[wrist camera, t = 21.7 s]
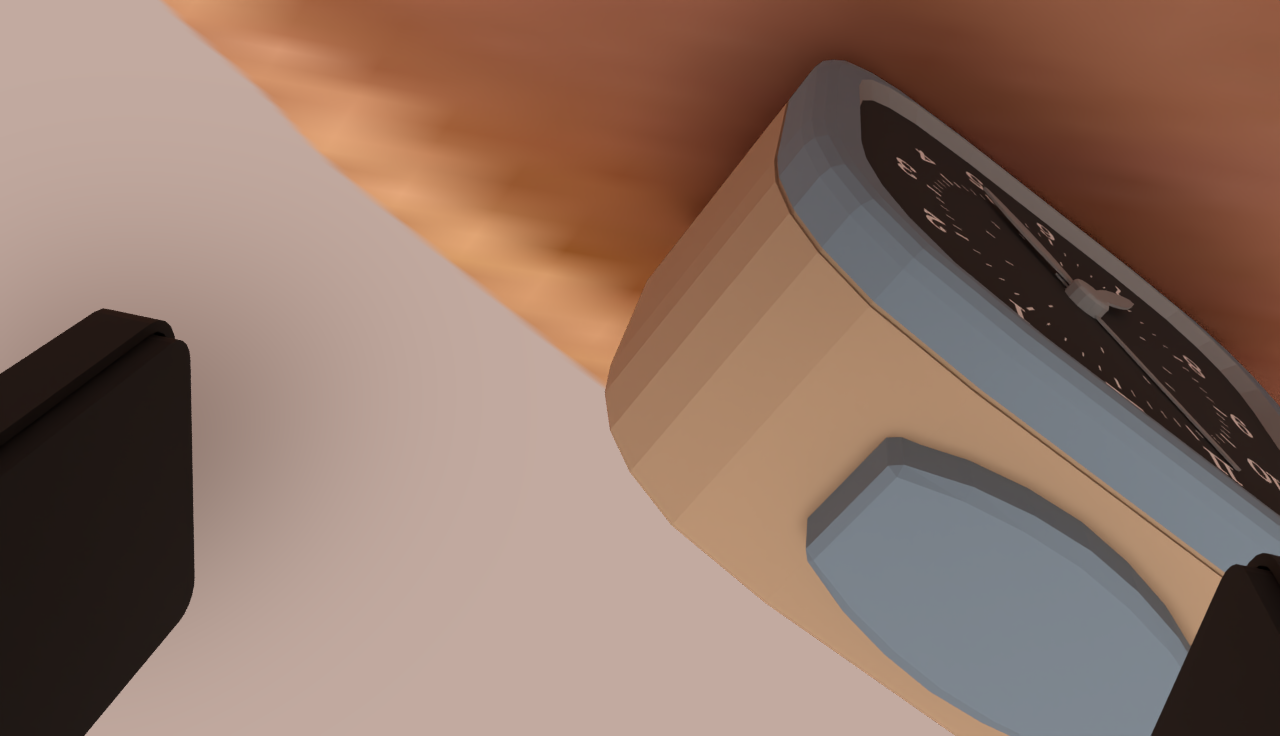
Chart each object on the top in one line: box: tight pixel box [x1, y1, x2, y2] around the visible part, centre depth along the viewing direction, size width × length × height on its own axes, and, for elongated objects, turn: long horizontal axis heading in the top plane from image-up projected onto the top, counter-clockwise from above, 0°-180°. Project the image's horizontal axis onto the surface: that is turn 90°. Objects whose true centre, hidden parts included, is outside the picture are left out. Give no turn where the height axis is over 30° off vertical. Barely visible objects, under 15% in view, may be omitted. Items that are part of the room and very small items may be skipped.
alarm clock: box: [605, 60, 1280, 736], centre depth 37 cm, size 21×10×22 cm, turn 54°
